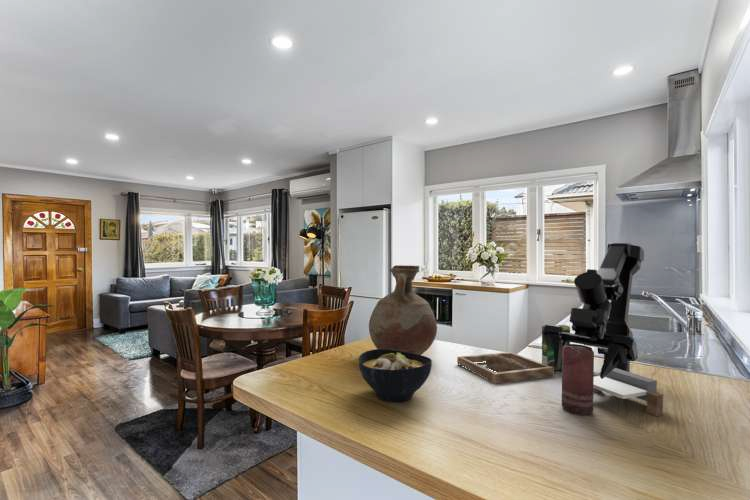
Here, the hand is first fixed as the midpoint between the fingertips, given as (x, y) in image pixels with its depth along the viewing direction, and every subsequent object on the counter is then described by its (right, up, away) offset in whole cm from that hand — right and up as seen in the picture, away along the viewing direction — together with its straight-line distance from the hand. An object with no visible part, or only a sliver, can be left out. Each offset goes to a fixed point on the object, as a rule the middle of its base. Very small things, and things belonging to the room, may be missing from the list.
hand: (577, 372), depth 82 cm
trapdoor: (+12, -7, +4) cm, 14 cm away
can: (-1, -8, 0) cm, 8 cm away
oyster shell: (-6, -9, +28) cm, 30 cm away
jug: (-36, -8, +36) cm, 52 cm away
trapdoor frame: (+13, -9, +5) cm, 17 cm away
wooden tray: (-7, -8, +27) cm, 29 cm away
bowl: (-40, -8, +5) cm, 41 cm away
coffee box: (+9, -9, +29) cm, 32 cm away
